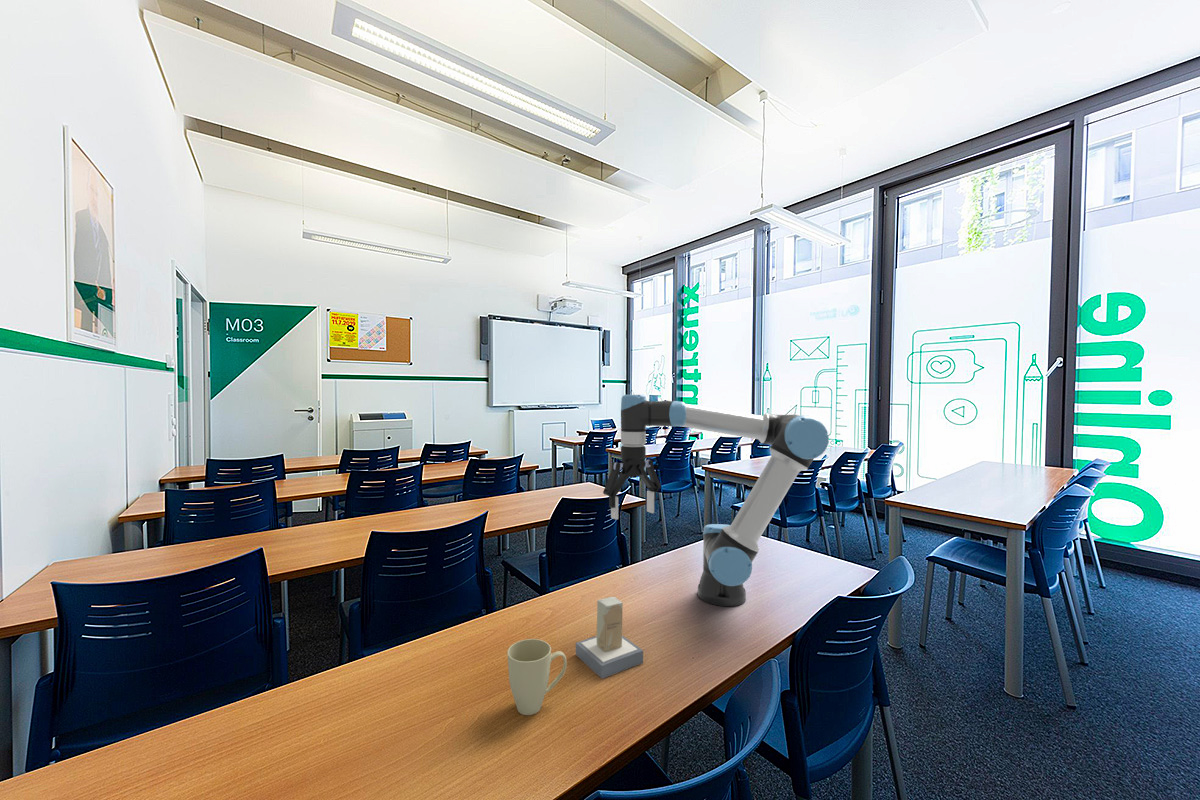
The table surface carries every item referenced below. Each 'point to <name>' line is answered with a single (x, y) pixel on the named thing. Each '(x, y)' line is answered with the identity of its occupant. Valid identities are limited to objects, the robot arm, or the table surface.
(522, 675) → the mug
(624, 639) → the pedestal
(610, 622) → the box
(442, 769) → the table surface
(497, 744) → the table surface
